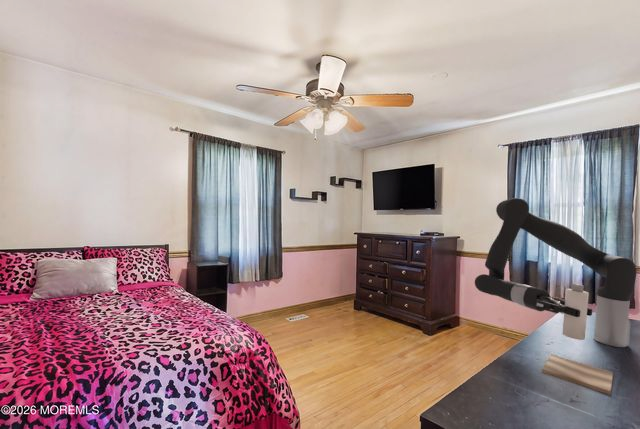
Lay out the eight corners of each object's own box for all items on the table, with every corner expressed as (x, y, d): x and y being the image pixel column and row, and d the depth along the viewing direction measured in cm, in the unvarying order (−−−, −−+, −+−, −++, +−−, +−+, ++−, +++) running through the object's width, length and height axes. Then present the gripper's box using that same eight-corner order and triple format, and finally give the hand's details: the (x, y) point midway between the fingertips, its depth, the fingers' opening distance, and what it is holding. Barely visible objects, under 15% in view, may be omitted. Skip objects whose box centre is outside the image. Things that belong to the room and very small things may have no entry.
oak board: (550, 356, 104) (551, 353, 104) (612, 375, 93) (613, 372, 93) (541, 371, 93) (542, 368, 93) (610, 395, 83) (610, 391, 83)
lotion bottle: (574, 332, 100) (578, 282, 99) (589, 340, 94) (594, 287, 94) (557, 332, 100) (562, 282, 99) (572, 339, 94) (576, 286, 94)
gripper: (516, 286, 107) (571, 302, 92) (543, 285, 113) (600, 299, 97) (514, 308, 107) (569, 327, 92) (542, 306, 113) (598, 323, 97)
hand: (585, 313), depth 94 cm, fingers closed on lotion bottle, 5 cm apart
